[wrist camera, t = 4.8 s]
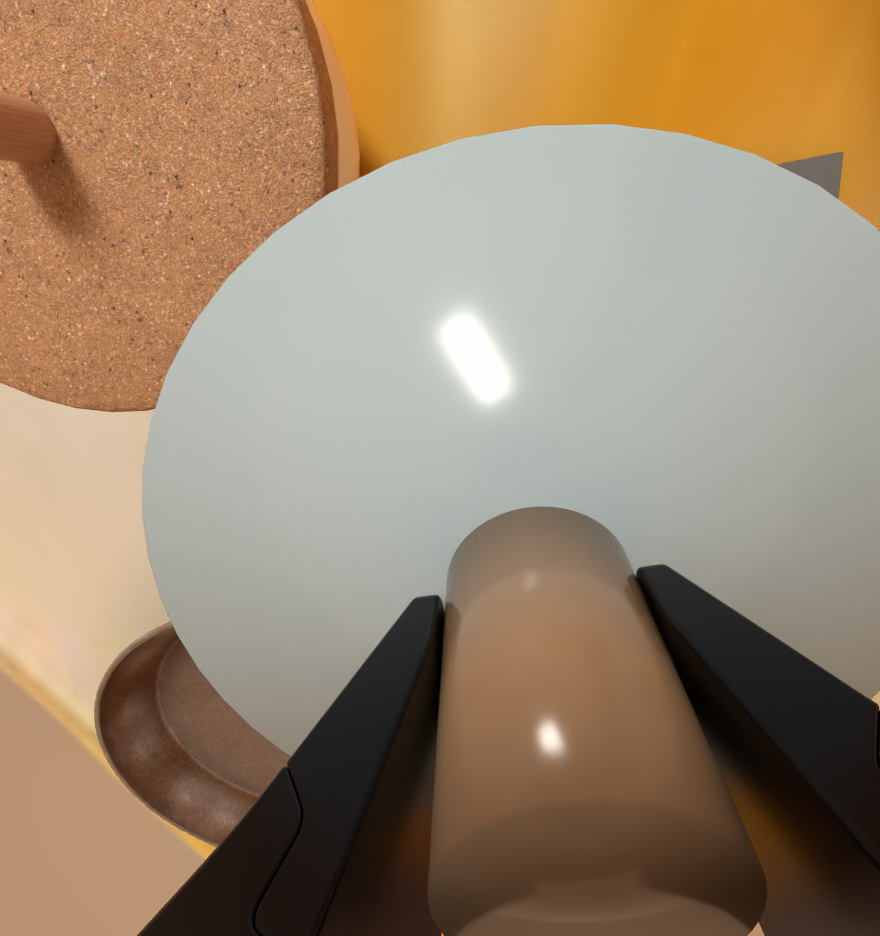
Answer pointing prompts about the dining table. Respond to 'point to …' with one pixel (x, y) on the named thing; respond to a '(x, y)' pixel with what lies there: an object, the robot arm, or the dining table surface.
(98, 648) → the dining table surface
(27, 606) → the dining table surface
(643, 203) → the lid
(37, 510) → the dining table surface
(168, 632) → the plant saucer
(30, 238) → the lidded jar
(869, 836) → the robot arm
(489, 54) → the dining table surface
